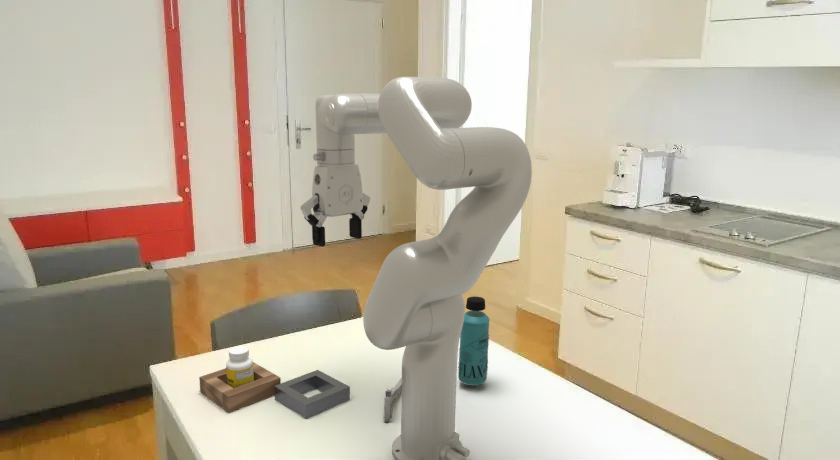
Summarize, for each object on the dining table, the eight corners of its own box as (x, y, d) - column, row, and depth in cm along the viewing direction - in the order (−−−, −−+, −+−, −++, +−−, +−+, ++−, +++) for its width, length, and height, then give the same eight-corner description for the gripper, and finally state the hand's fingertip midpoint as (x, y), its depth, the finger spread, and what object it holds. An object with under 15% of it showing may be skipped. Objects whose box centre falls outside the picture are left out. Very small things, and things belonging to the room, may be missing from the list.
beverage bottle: (452, 387, 135) (455, 300, 131) (464, 375, 141) (467, 291, 137) (480, 394, 132) (484, 305, 128) (491, 382, 138) (495, 296, 134)
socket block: (350, 399, 129) (349, 386, 129) (306, 418, 122) (306, 404, 121) (317, 382, 137) (317, 369, 136) (274, 399, 129) (274, 386, 128)
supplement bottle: (226, 389, 133) (223, 346, 131) (252, 385, 135) (250, 342, 133) (229, 401, 128) (227, 356, 126) (256, 396, 130) (254, 352, 128)
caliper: (389, 424, 121) (389, 394, 119) (383, 423, 121) (383, 394, 119) (409, 377, 140) (409, 351, 139) (404, 377, 140) (405, 351, 139)
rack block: (281, 392, 132) (280, 377, 131) (229, 412, 123) (228, 396, 123) (250, 374, 140) (250, 360, 139) (200, 392, 132) (199, 377, 131)
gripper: (312, 162, 116) (315, 251, 119) (380, 156, 128) (380, 237, 132) (288, 159, 121) (292, 245, 124) (356, 154, 133) (357, 232, 137)
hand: (337, 241), depth 128 cm, fingers open, 9 cm apart
